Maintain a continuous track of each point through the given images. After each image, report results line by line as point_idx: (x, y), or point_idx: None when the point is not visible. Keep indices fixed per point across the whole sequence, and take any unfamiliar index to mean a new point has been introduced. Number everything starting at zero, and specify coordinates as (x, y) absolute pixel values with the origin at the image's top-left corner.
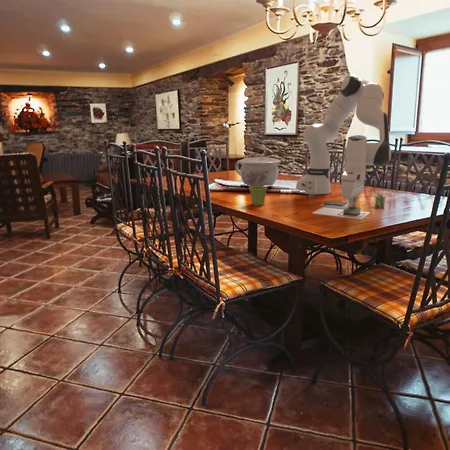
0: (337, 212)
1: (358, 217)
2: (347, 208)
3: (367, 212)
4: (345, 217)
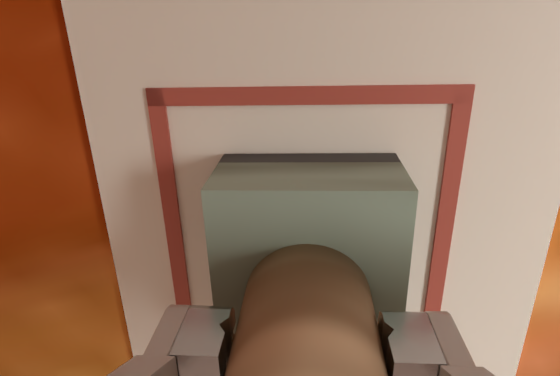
0: (309, 28)
1: None
2: (226, 248)
3: (496, 369)
4: (109, 218)
